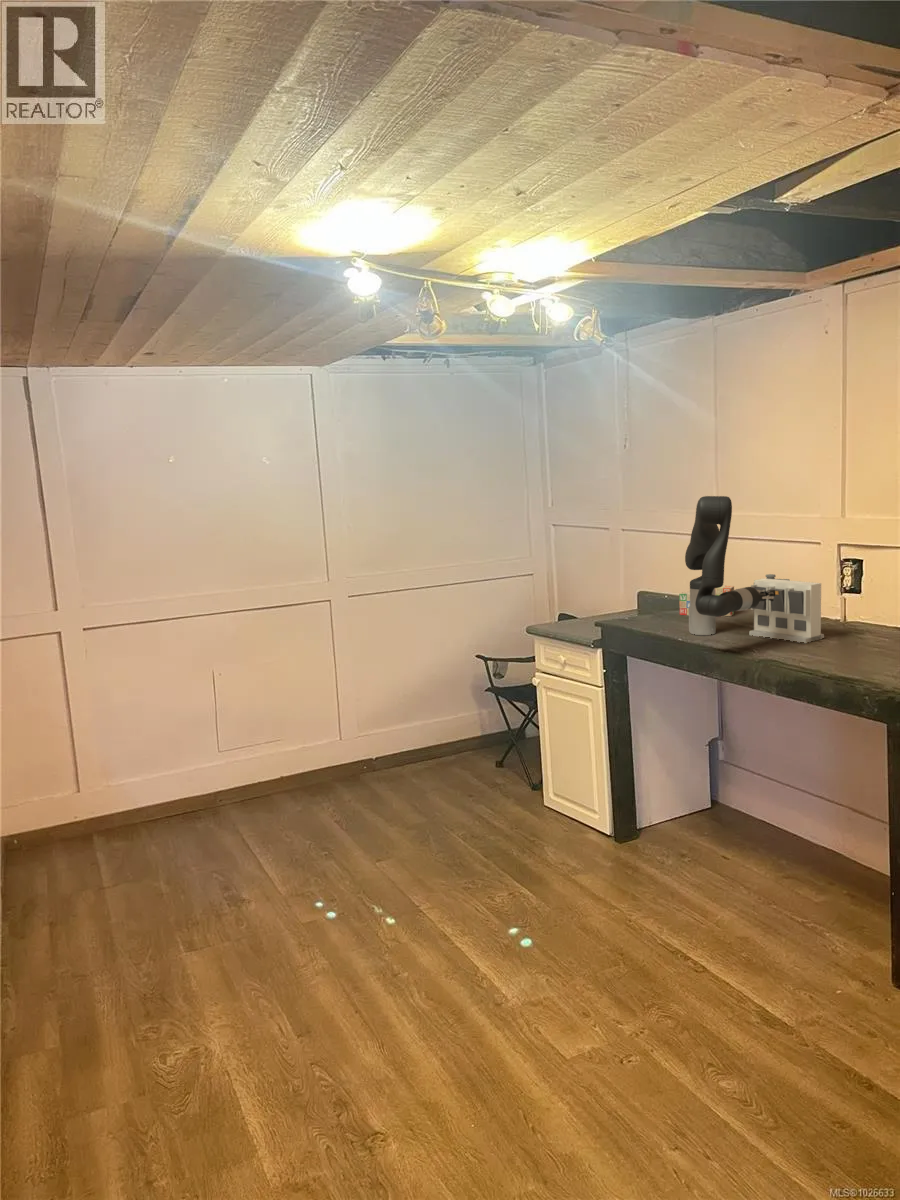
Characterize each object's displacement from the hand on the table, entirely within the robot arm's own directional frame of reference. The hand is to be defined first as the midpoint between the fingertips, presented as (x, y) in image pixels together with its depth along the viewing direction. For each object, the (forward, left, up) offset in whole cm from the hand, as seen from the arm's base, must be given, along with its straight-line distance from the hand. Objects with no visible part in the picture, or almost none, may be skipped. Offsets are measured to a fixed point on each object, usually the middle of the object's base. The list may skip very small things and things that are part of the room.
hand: (773, 592), depth 317 cm
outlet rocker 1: (-1, +4, -7) cm, 8 cm away
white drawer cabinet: (-2, +8, -17) cm, 19 cm away
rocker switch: (-8, 0, -7) cm, 10 cm away
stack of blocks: (-56, +13, -17) cm, 60 cm away
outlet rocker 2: (+6, +6, -7) cm, 11 cm away
